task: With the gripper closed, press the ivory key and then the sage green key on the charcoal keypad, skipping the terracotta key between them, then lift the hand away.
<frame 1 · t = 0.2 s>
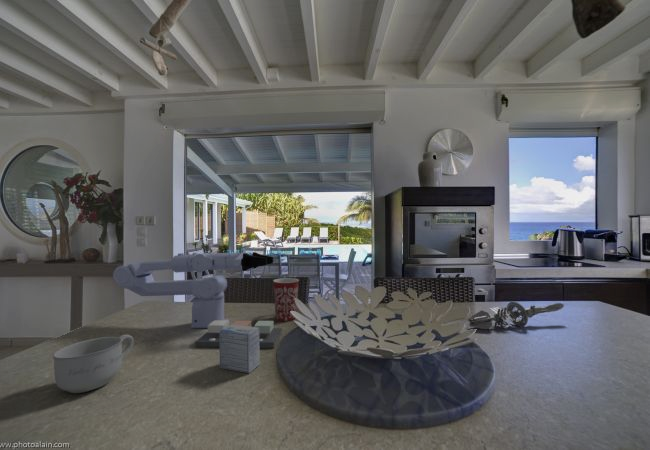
hand: (269, 260, 93), 21 cm above the kitchen island, fingers open, 7 cm apart
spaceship: (517, 327, 92), on the kitchen island
mug: (286, 317, 103), on the kitchen island
keypad: (241, 339, 81), on the kitchen island
sage key: (264, 326, 81), point 4 cm above the kitchen island, slide at 0.0 cm
ivory key: (218, 326, 81), point 4 cm above the kitchen island, slide at 0.0 cm
terracotta key: (241, 326, 81), point 4 cm above the kitchen island, slide at 0.0 cm
medicine box: (239, 367, 65), on the kitchen island
teacup: (98, 382, 59), on the kitchen island
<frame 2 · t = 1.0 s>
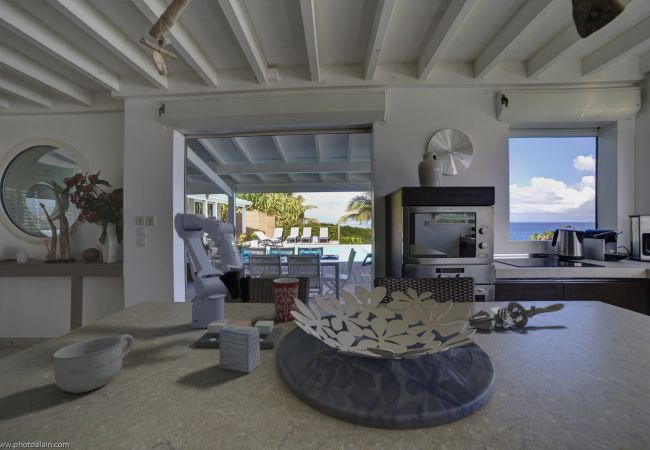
hand: (242, 299, 82), 11 cm above the kitchen island, fingers open, 7 cm apart
nothing on the kitchen island moved.
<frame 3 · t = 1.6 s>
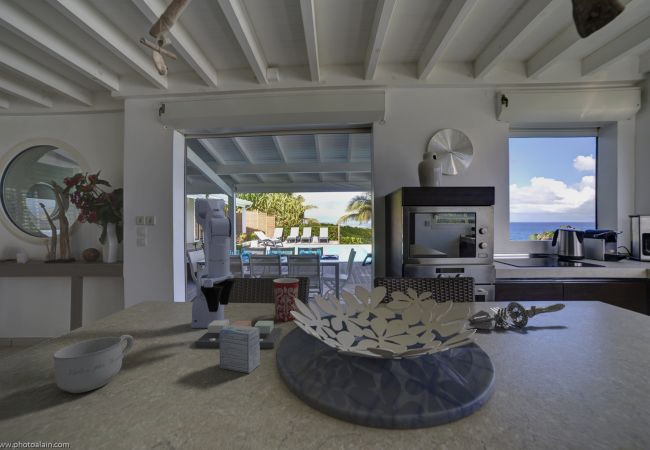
hand: (218, 308, 81), 9 cm above the kitchen island, fingers open, 7 cm apart
nothing on the kitchen island moved.
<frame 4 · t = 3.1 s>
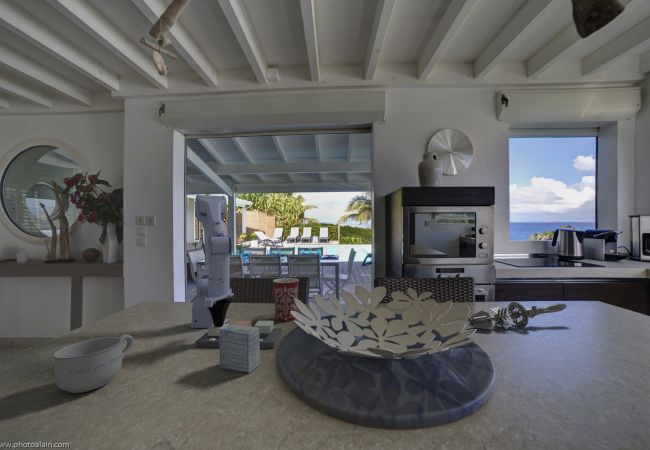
hand: (218, 326, 81), 4 cm above the kitchen island, fingers closed, pressing on ivory key
ivory key: (218, 329, 81), point 3 cm above the kitchen island, slide at 0.9 cm, touching gripper
everything else where it was.
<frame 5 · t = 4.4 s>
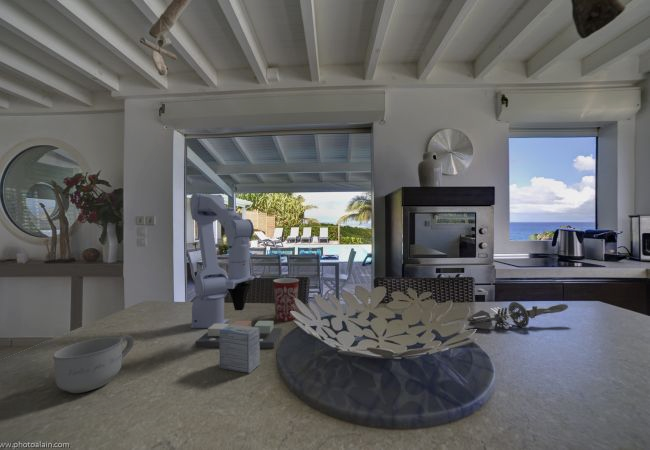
hand: (239, 309, 81), 9 cm above the kitchen island, fingers closed
ivory key: (218, 329, 81), point 3 cm above the kitchen island, slide at 0.9 cm
everything else where it was.
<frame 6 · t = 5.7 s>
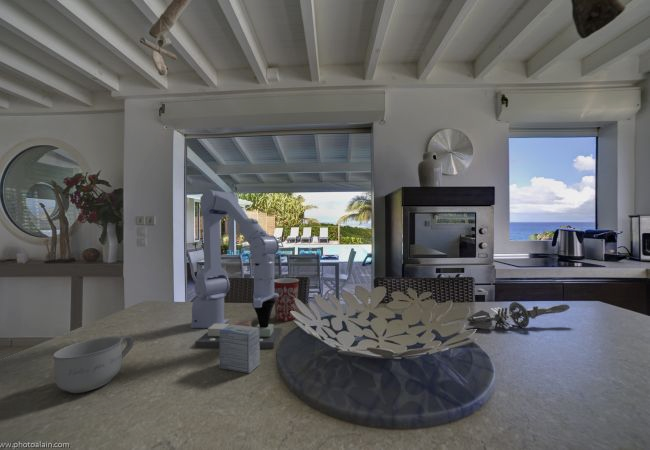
hand: (264, 326, 81), 4 cm above the kitchen island, fingers closed, pressing on sage key
sage key: (264, 330, 81), point 3 cm above the kitchen island, slide at 0.9 cm, touching gripper
everything else where it was.
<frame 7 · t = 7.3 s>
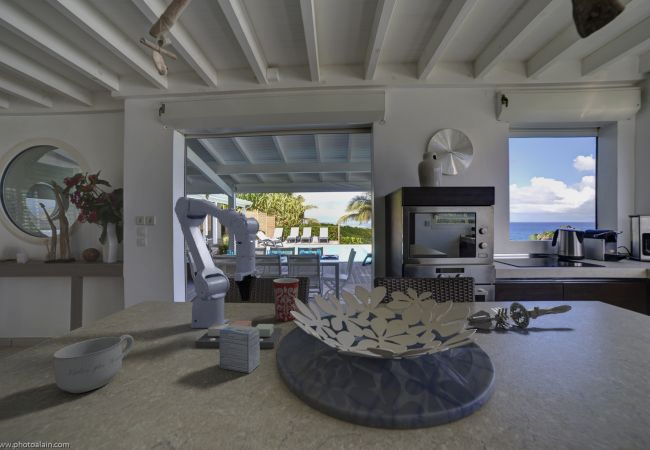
hand: (245, 300, 88), 9 cm above the kitchen island, fingers closed
sage key: (264, 330, 81), point 3 cm above the kitchen island, slide at 0.9 cm
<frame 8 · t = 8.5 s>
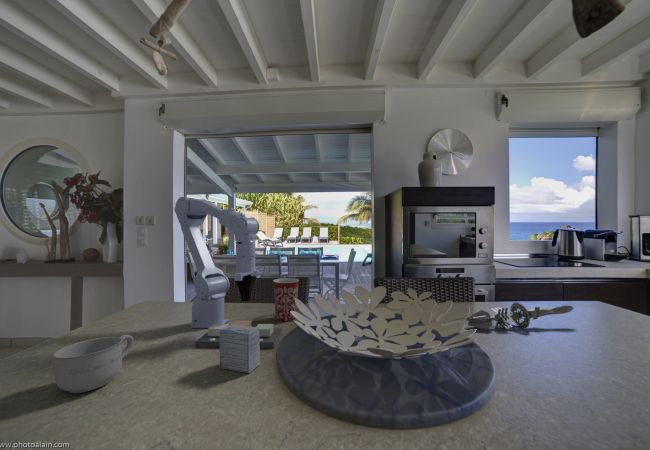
hand: (245, 300, 88), 9 cm above the kitchen island, fingers closed
at the end: ivory key slide at 0.9 cm; sage key slide at 0.9 cm; terracotta key slide at 0.0 cm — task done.
